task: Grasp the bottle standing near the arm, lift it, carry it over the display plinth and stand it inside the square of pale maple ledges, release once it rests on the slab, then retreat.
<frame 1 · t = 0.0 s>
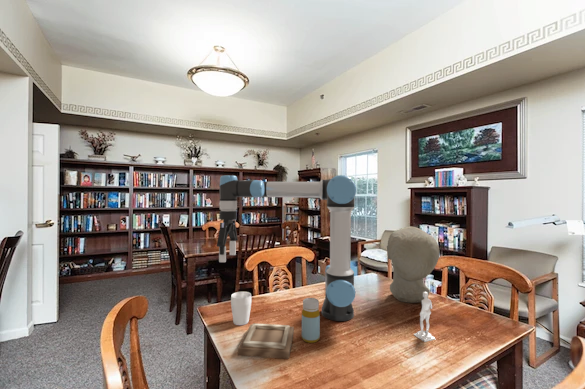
hand: (227, 258, 123), 28 cm above the table, fingers open, 13 cm apart
cup: (241, 322, 123), on the table
bust: (412, 303, 146), on the table
figurine: (425, 337, 111), on the table
bottle: (310, 339, 109), on the table
plinth: (267, 343, 105), on the table
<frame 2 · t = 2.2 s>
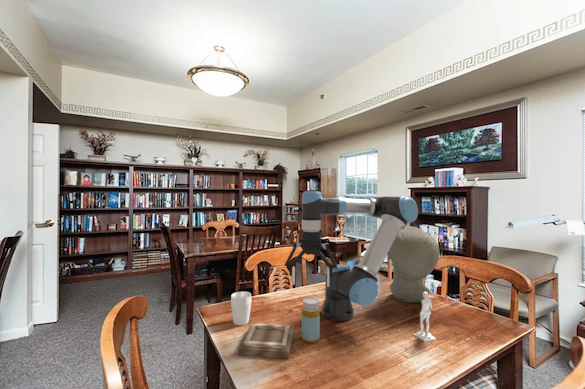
hand: (310, 284, 109), 21 cm above the table, fingers open, 13 cm apart
nothing on the table moved.
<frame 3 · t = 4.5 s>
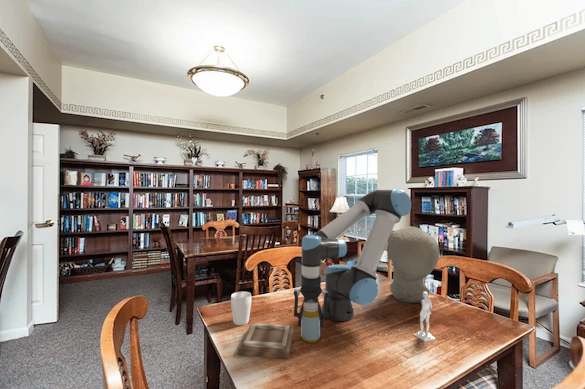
hand: (310, 334, 109), 2 cm above the table, fingers closed on bottle, 6 cm apart
bottle: (310, 339, 109), on the table, touching gripper
everything else where it was.
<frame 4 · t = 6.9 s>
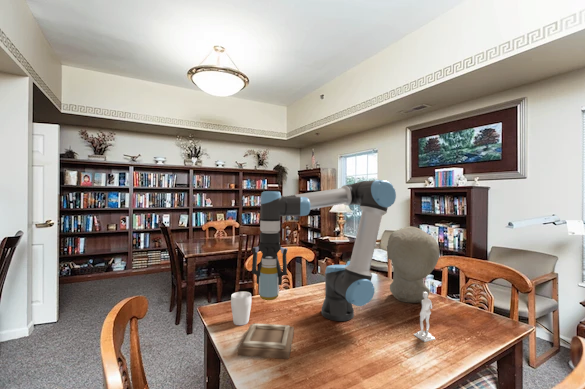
hand: (269, 292, 105), 19 cm above the table, fingers closed on bottle, 6 cm apart
bottle: (269, 297, 105), point 17 cm above the table, touching gripper
everything else where it was.
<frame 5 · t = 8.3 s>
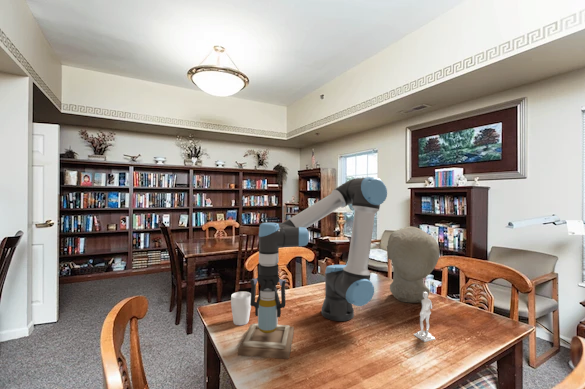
hand: (267, 324, 105), 7 cm above the table, fingers closed on bottle, 6 cm apart
bottle: (267, 329, 105), point 5 cm above the table, touching gripper
everything else where it was.
when the fingers open (4 cm above the table, at t = 9.1 s): bottle stays where it is, resting on plinth.
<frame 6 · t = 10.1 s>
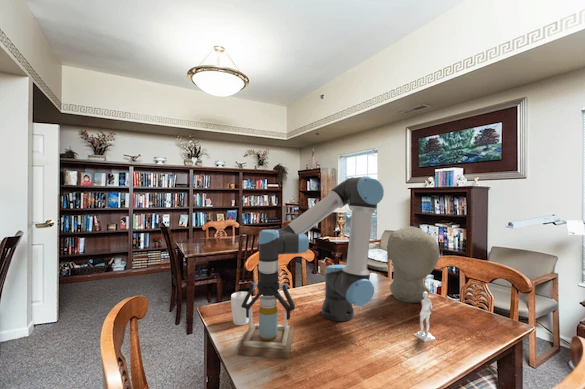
hand: (268, 326, 105), 6 cm above the table, fingers open, 13 cm apart
bottle: (268, 337, 105), point 2 cm above the table, touching plinth
everything else where it was.
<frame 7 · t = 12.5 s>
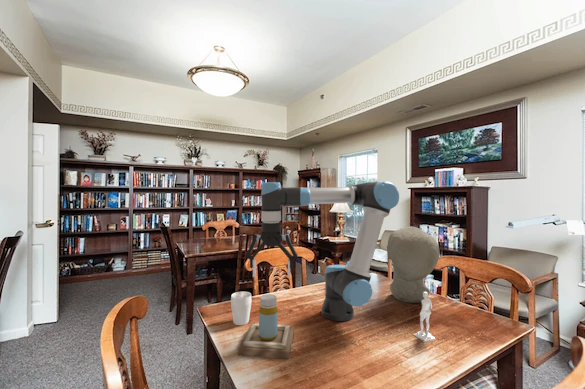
hand: (271, 276, 108), 25 cm above the table, fingers open, 13 cm apart
nothing on the table moved.
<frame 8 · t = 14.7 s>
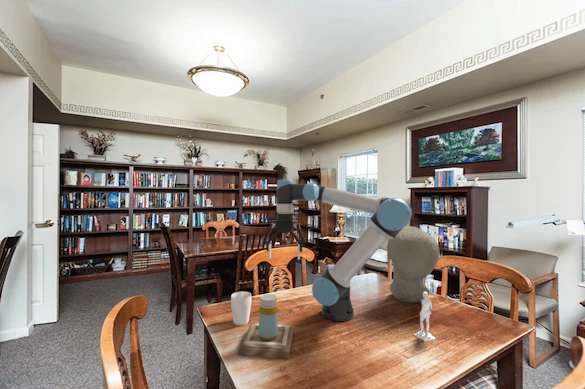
hand: (284, 258, 129), 27 cm above the table, fingers open, 13 cm apart
nothing on the table moved.
at the end: bottle inside the target area on the plinth (0.1 cm from its centre), point 2.3 cm above the plinth's base; bottle tilted 0°; the gripper is holding nothing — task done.
